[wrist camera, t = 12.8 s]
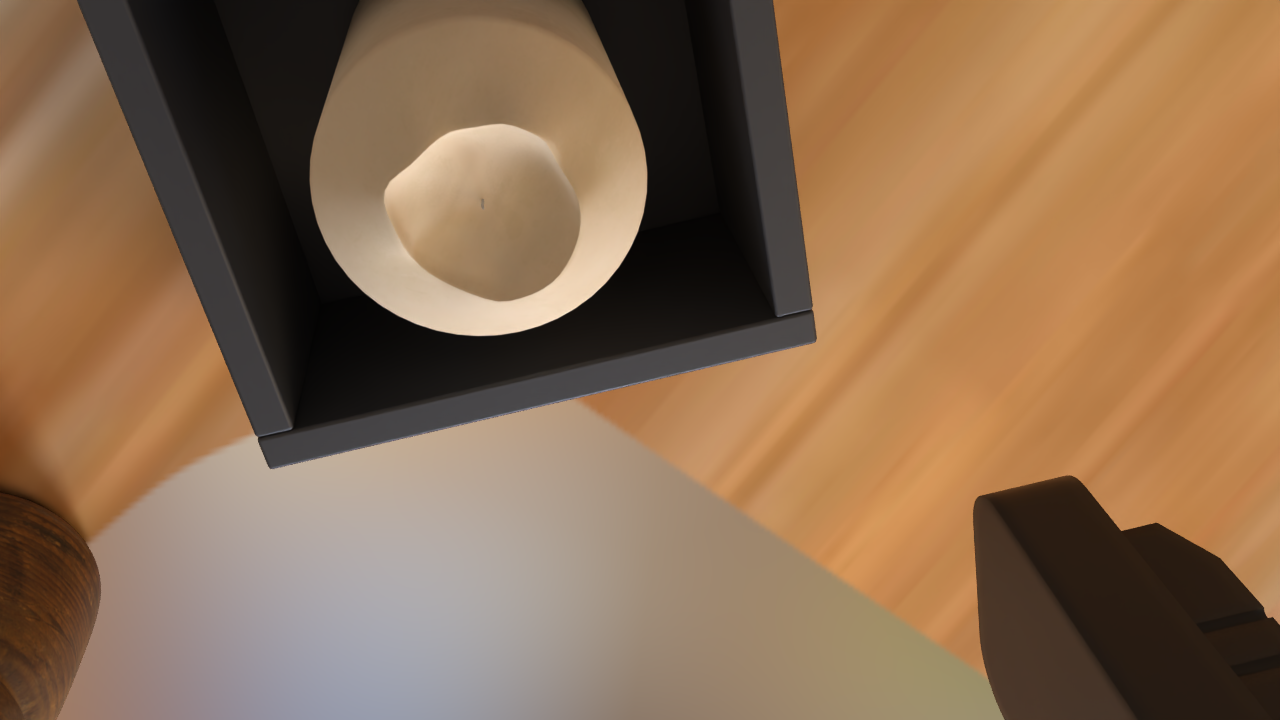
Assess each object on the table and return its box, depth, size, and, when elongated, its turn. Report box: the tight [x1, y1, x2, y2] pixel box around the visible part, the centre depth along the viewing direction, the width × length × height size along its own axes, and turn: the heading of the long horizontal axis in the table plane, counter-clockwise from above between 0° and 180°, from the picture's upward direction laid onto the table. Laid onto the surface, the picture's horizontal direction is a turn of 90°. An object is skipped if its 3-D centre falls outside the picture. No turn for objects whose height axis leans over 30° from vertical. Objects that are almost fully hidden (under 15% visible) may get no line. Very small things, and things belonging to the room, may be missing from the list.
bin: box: [77, 0, 817, 469], centre depth 25 cm, size 12×12×7 cm
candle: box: [310, 0, 647, 336], centre depth 23 cm, size 6×6×10 cm
